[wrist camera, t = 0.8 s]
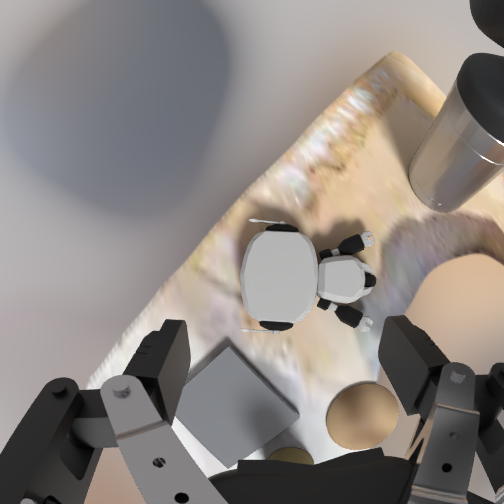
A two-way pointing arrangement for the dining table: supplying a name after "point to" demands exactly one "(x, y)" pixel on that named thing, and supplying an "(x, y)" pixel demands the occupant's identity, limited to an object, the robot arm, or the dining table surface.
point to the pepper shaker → (292, 456)
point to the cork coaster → (362, 416)
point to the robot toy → (302, 278)
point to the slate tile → (232, 408)
